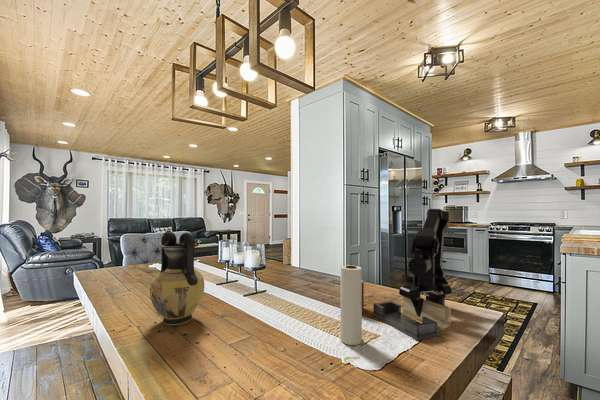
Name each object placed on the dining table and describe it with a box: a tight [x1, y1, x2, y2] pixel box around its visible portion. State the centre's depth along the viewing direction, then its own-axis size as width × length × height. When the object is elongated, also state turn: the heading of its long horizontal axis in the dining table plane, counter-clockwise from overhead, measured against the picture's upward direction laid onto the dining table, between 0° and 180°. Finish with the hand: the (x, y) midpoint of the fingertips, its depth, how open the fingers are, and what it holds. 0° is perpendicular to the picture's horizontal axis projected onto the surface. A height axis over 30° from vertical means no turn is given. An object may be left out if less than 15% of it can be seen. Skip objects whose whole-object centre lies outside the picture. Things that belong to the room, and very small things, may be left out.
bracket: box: [371, 300, 441, 342], centre depth 94 cm, size 9×22×4 cm, turn 21°
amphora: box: [149, 231, 205, 326], centre depth 96 cm, size 18×17×30 cm
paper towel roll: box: [339, 263, 363, 346], centre depth 83 cm, size 7×6×21 cm
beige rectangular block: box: [402, 296, 452, 329], centre depth 99 cm, size 4×16×6 cm, turn 29°
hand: (425, 315), depth 99 cm, fingers open, 6 cm apart
